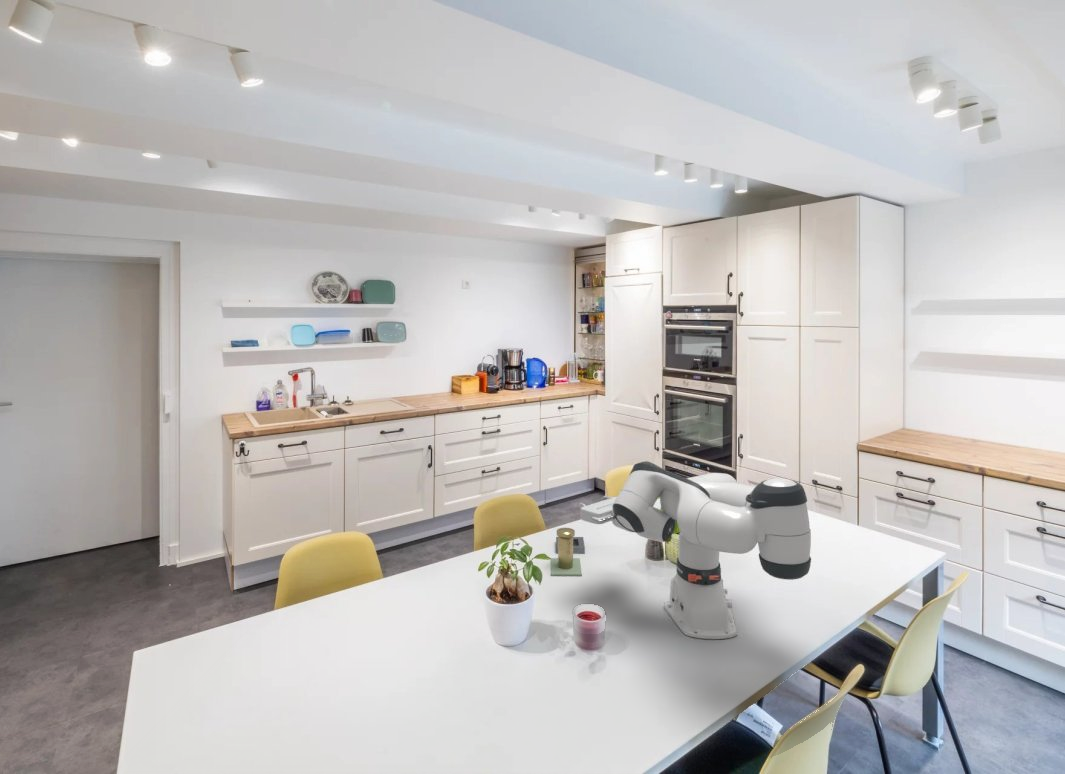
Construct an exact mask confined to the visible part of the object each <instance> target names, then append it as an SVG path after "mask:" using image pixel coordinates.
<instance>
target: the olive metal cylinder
mask: <svg viewBox="0 0 1065 774" xmlns="http://www.w3.org/2000/svg"><path fill="white" fill-rule="evenodd" d="M575 535H576V533H575V529H573V528H572V527H571V528H570V527H561V528H558V529H556V537H558V554H557V558H558V567H559V568H561V569H571V568H572V567H573V558H574V554H573V537H576V536H575Z"/></svg>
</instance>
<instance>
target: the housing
mask: <svg viewBox="0 0 1065 774" xmlns="http://www.w3.org/2000/svg"><path fill="white" fill-rule="evenodd" d="M584 540H585V539H584V537H583V536H573V555H575V554H576V555H585V554H586V548H585V547H586V546H585V541H584ZM555 545H556V549H555V550H556V554H557V555H558V536H556V538H555Z"/></svg>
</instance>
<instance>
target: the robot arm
mask: <svg viewBox="0 0 1065 774" xmlns="http://www.w3.org/2000/svg"><path fill="white" fill-rule="evenodd" d="M658 499H659V503H660V507H661V509H660V508H657V507H654V505H655V504H656V503H657V500H658ZM807 502H808V499H807V494H806V491H805V488H804V487H803V486H802V484H800V483H799V482H798V481H795V480H792V479H788V478H784V477H774V478H770V479H766V480H765V479H764V480H763V481H761V482H760V483H758V484H757V485H751V484H745V483H740V482H738V481H737V479H735V478H734V477H733V476H732V475H730V474H728V473H723V472H711V473H710V472H709V473H705V474H699V475H696V476H691V477H690V476H689V477H684V476H681V475H679V474H677V473H674V472H671V471H669V470H666V469H664V468H662V467H660V466H658V465H657V464H655V463H653V462H650V461H647V460H646V461H640V462H637V463H635V464H634V465H633V466H632V469H631V471H630V473H629V476H628V477H627V479H626V480H625V482H624V484H623V486H622V487H621V489H620V491H619V493H618V495H617V496H606V495H602V496H601V497H600V501H597V502H594V503H591V504H589V505H588V504H587V503H585V502H580V503H579V504H578V508H579V510H580V519H581V520H582V521H584V522H588V523H591V524H595V525H603V524H606V523H608V522H612V524H613V526H615V527H616V528H619V529H621V530H624V531H626V532H629V533H635V534H637V535H638V536H640V537H642V538H645V539H648V540H651V541H656V542H660V543H665V542H668V540H670V539H671V537H672V535H673V533H674V531H675V529H676V523H677V527H678V530H679V535H678V557H677V558H676V563H675V564H676V565H675V567H676V573H675V574H674V576H673V577H672V578H671V580H670V589H669V590H670V591H669V600H668V601H666V602H665V603H663V608H664V610H665V611H666V613H667V614H668V615H669V616H670V618H671V620H673V622H674V623H675V625H677V627H678V628H679V629H680V631H681V632H682V633H683V634H684V635H685V636H688V637H690V638H691V637H692V638H697V639H703V640H705V639H706V640H722V639H731V638H734V637H736V636H737V634H738V633H737V628H736V624H735V623H736V622H735V620H734V615H733V611H732V609H733V600H732V599H728V598H727V597H726V595H728V588H725V587H724V579H723V578H722V568H721V563H720V552H721V553H726V554H735V555H743V554H748V553H749V552H751V551H753V549H755V547H756V546H758V547H757V548H758V551H759V553H758V558H759V562H760V565H761V568H762V570H763V571H764V572H766V574H768V575H770V576H771V577H773V578H776V579H778V580H779V579H780V580H789V581H790V580H792V581H793V580H798V579H802V578H803V577H805V576H806V575H808V573H809V572H810V568H811V563H812V558H811V549H812V548H811V546H812V545H811V544H812V533H811V528H810V518H809V511H808V507H807V506H808V505H807Z"/></svg>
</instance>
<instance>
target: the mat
mask: <svg viewBox="0 0 1065 774" xmlns="http://www.w3.org/2000/svg"><path fill="white" fill-rule="evenodd" d="M581 567H582V565H581V559H580V558H579V557H577V558H575V557H573V567H572V568H571V569H561V568H559V567H558V557H553V558H552V557H551V558H550V576H551V577H583V574H582V568H581Z"/></svg>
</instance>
